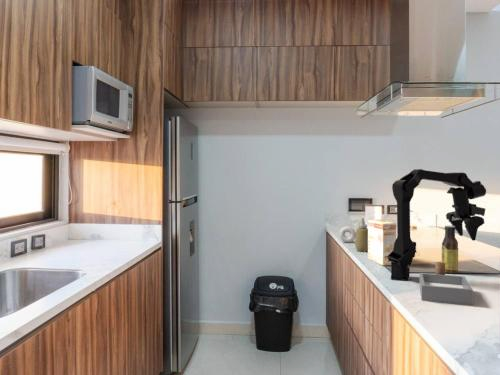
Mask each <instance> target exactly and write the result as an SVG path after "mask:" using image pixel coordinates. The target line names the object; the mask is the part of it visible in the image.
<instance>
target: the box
mask: <svg viewBox="0 0 500 375" xmlns="http://www.w3.org/2000/svg"><path fill="white" fill-rule="evenodd" d="M418 276H419V277H418V279H419V284H418V285H419V286H418V287H419V290H420V291H419V292H420V293H419V294H420V298H421V301H427V302H436V303H447V304H455V305H456V304H457V305H463V306H464V305H466V306H474V305H473V304H474V301H473V299H474V294H473V292H474V290H473V288H472V286H471V285H470V283H469V282H468V279H467V278H466V276H464V275H463V276H462V275H450V274H445V275H439V274H435V273H423V272H419V275H418Z"/></svg>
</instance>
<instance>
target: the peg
mask: <svg viewBox="0 0 500 375" xmlns="http://www.w3.org/2000/svg"><path fill="white" fill-rule="evenodd" d="M434 271H435V272H434V274H439V275H446V272H445V263H442V261H441V262H435V263H434Z"/></svg>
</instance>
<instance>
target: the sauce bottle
mask: <svg viewBox="0 0 500 375" xmlns="http://www.w3.org/2000/svg"><path fill="white" fill-rule="evenodd" d="M444 232H445V233H444V237H443V240H442V243H441V263H445V274H446V273H447V274H457V273H458V272H459V270H458V269H459V242H458V239H456V230H455V226H452V225H445V226H444Z"/></svg>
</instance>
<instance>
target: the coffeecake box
mask: <svg viewBox="0 0 500 375" xmlns="http://www.w3.org/2000/svg"><path fill="white" fill-rule="evenodd" d="M367 229H368V251H367V260H369V261H373V262H375V263H376V264H377V265H378V264H379V265H381V266H391V261H389V260H388V255H389V254H390V253H391V252H392V251H393V248H394V243H395V241H396V239H397V223H396V222H391V221H386V220H382V219H368V220H367Z"/></svg>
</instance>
